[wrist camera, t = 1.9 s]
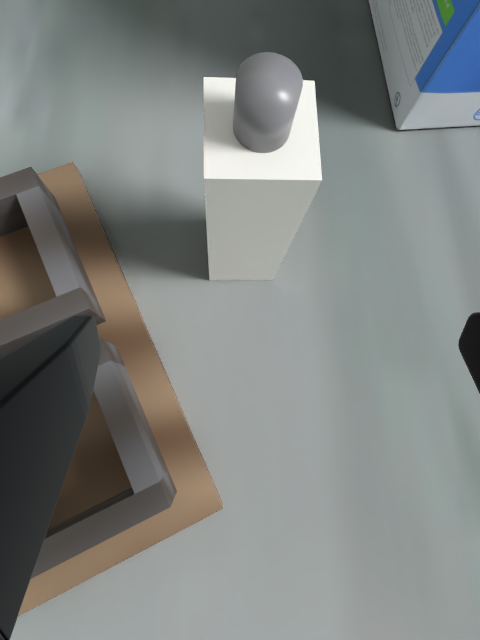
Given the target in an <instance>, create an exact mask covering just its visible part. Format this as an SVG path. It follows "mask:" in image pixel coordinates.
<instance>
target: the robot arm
mask: <svg viewBox="0 0 480 640" xmlns="http://www.w3.org/2000/svg"><path fill="white" fill-rule="evenodd" d="M459 350H460V352H461V354H462V357H463V359H464V361H465V363H466V365H467V367H468V369H469V372H470V374H471V376H472V378H473V380H474V382H475V384H476V387H477V389H478V391H479V393H480V312H477V313H473V314H471V315H470V316H469V318H468V320H467V322H466V325H465V327H464V329H463V332H462V334H461V336H460V339H459ZM100 354H101V344H100V339H99V335H98V330H97V325H96V321H95V319H94V317H93V316H91V315H75V316H72V317H71V318H69V319H67V320H66V321H64V322H62V323H60V324H59V325H57V326H55V327H54V328H52V329H50V330H48V331H47V332H45V333H43V334H41V335H40V336H38V337H36V338H35V339H33V340H31V341H29V342H28V343H26V344H24V345H23V346H21V347H19V348H17V349H16V350H14V351H12V352H11V353H9V354H7V355H5V356H4V357H2V358H0V640H10V637H11V634H12V631H13V628H14V626H15V623H16V620H17V617H18V614H19V611H20V608H21V605H22V602H23V600H24V597H25V594H26V591H27V588H28V585H29V582H30V579H31V576H32V573H33V571H34V568H35V565H36V562H37V559H38V556H39V553H40V550H41V547H42V545H43V542H44V539H45V536H46V533H47V530H48V527H49V524H50V521H51V519H52V516H53V513H54V510H55V507H56V504H57V501H58V498H59V495H60V493H61V490H62V487H63V484H64V481H65V478H66V475H67V472H68V469H69V466H70V464H71V461H72V458H73V455H74V452H75V449H76V446H77V443H78V440H79V438H80V435H81V432H82V429H83V426H84V423H85V420H86V417H87V414H88V411H89V407H90V402H91V398H92V393H93V388H94V384H95V379H96V374H97V369H98V364H99V359H100Z"/></svg>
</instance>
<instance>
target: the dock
mask: <svg viewBox="0 0 480 640" xmlns="http://www.w3.org/2000/svg"><path fill="white" fill-rule="evenodd" d="M75 315H91V316H93V317H94V319H95V321H96V325H97V330H98V335H99V339H100V344H101V354H100V359H99V364H98V369H97V374H96V379H95V384H94V388H93V393H92V398H91V402H90V407H89V411H88V414H87V417H86V420H85V423H84V426H83V429H82V432H81V435H80V438H79V440H78V443H77V446H76V449H75V452H74V455H73V458H72V461H71V464H70V466H69V469H68V472H67V475H66V478H65V481H64V484H63V487H62V490H61V493H60V495H59V498H58V501H57V504H56V507H55V510H54V513H53V516H52V519H51V521H50V524H49V527H48V530H47V533H46V536H45V539H44V542H43V545H42V547H41V550H40V553H39V556H38V559H37V562H36V565H35V568H34V571H33V573H32V576H31V579H30V582H29V585H28V588H27V591H26V594H25V597H24V600H23V602H22V605H21V608H20V611H19V614H18V616H19V615H21V614H23V613H25V612H27V611H29V610H31V609H33V608H34V607H36V606H38V605H40V604H42V603H44V602H46V601H48V600H50V599H52V598H53V597H55V596H57V595H59V594H61V593H63V592H65V591H67V590H69V589H71V588H72V587H74V586H76V585H78V584H80V583H82V582H84V581H86V580H88V579H90V578H91V577H93V576H95V575H97V574H99V573H101V572H103V571H105V570H107V569H109V568H110V567H112V566H114V565H116V564H118V563H120V562H122V561H124V560H126V559H128V558H129V557H131V556H133V555H135V554H137V553H139V552H141V551H143V550H145V549H147V548H149V547H150V546H152V545H154V544H156V543H158V542H160V541H162V540H164V539H166V538H168V537H169V536H171V535H173V534H175V533H177V532H179V531H181V530H183V529H185V528H187V527H188V526H190V525H192V524H194V523H196V522H198V521H200V520H202V519H204V518H206V517H207V516H209V515H211V514H213V513H215V512H217V511H219V510H221V509H223V504H222V501H221V499H220V497H219V494H218V492H217V490H216V487H215V485H214V483H213V480H212V478H211V476H210V473H209V471H208V469H207V467H206V464H205V462H204V460H203V457H202V455H201V453H200V450H199V448H198V446H197V443H196V441H195V439H194V436H193V434H192V432H191V430H190V427H189V425H188V423H187V420H186V418H185V416H184V413H183V411H182V409H181V406H180V404H179V402H178V400H177V397H176V395H175V393H174V390H173V388H172V386H171V383H170V381H169V379H168V376H167V374H166V372H165V369H164V367H163V365H162V363H161V360H160V358H159V356H158V353H157V351H156V349H155V346H154V344H153V342H152V339H151V337H150V335H149V333H148V330H147V328H146V326H145V323H144V321H143V319H142V316H141V314H140V312H139V309H138V307H137V305H136V302H135V300H134V298H133V296H132V293H131V291H130V289H129V286H128V284H127V282H126V279H125V277H124V275H123V272H122V270H121V268H120V266H119V263H118V261H117V259H116V256H115V254H114V252H113V249H112V247H111V245H110V242H109V240H108V238H107V235H106V233H105V231H104V229H103V226H102V224H101V222H100V219H99V217H98V215H97V212H96V210H95V208H94V205H93V203H92V201H91V199H90V196H89V194H88V192H87V189H86V187H85V185H84V182H83V180H82V178H81V175H80V173H79V171H78V169H77V168H76V166H75V164H74V163H73V162H71V163H68V164H66V165H63V166H60V167H57V168H55V169H52V170H49V171H46V172H43V173H41V174H38V175H37V174H36V172H35V171H34V170H33V169H32V167H29V168H26V169H23V170H21V171H18V172H15V173H12V174H9V175H6V176H4V177H1V178H0V358H2V357H4V356H5V355H7V354H9V353H11V352H12V351H14V350H16V349H17V348H19V347H21V346H23V345H24V344H26V343H28V342H29V341H31V340H33V339H35V338H36V337H38V336H40V335H41V334H43V333H45V332H47V331H48V330H50V329H52V328H54V327H55V326H57V325H59V324H60V323H62V322H64V321H66V320H67V319H69V318H71V317H72V316H75Z"/></svg>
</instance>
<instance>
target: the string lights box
mask: <svg viewBox="0 0 480 640" xmlns="http://www.w3.org/2000/svg"><path fill="white" fill-rule="evenodd" d="M369 4H370V9H371V13H372V18H373V22H374V27H375V32H376V36H377V41H378V45H379V50H380V54H381V59H382V63H383V68H384V73H385V78H386V82H387V87H388V91H389V96H390V100H391V105H392V109H393V114H394V119H395V123H396V128H397V129H398V130H406V129H425V128H442V127H459V126H477V125H480V0H369Z"/></svg>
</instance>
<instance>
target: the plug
mask: <svg viewBox="0 0 480 640" xmlns="http://www.w3.org/2000/svg"><path fill="white" fill-rule="evenodd" d="M321 181H322V174H321V161H320V147H319V134H318V120H317V107H316V93H315V81H309V80H303V79H302V75H301V72H300V70H299V69H298V67H297V66H296V65H295V63H293V62H292V61H291V60H290V59H289V58H287V57H285V56H283V55H281V54H277V53H273V52H261V53H256V54H254V55H251V56H249V57H248V58H246V59H245V60H244V61H243V62H242V63H241V64H240V66H239V68H238V70H237V73H236V78H218V77H204V188H205V207H206V226H207V245H208V264H209V280H274V279H275V276H276V274H277V272H278V270H279V268H280V266H281V264H282V262H283V260H284V258H285V256H286V254H287V252H288V250H289V248H290V245H291V243H292V241H293V239H294V237H295V235H296V233H297V231H298V229H299V227H300V225H301V223H302V221H303V219H304V216H305V214H306V212H307V210H308V208H309V206H310V204H311V202H312V200H313V198H314V196H315V194H316V192H317V190H318V188H319V185H320V183H321Z"/></svg>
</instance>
